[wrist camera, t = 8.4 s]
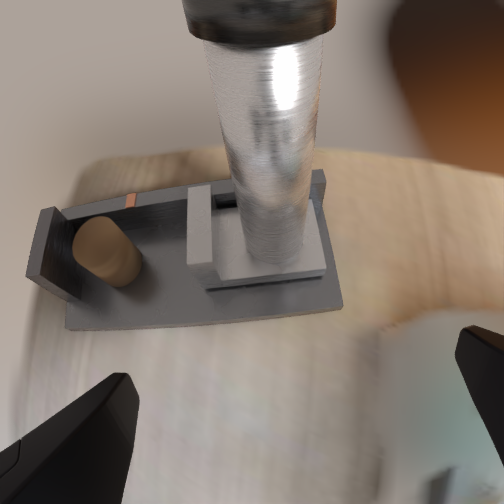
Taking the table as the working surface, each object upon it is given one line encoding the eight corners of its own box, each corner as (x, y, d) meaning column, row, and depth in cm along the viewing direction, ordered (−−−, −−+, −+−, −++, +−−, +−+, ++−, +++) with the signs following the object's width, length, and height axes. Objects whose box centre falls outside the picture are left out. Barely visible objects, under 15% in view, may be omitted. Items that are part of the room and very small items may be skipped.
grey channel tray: (317, 200, 20) (326, 145, 16) (340, 309, 17) (363, 276, 12) (83, 232, 21) (46, 192, 16) (71, 330, 18) (20, 307, 13)
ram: (310, 208, 19) (331, -45, 6) (323, 275, 17) (396, -11, 4) (201, 221, 19) (113, -17, 6) (203, 288, 17) (56, 34, 4)
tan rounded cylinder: (126, 295, 18) (98, 275, 14) (93, 275, 18) (64, 253, 15) (150, 253, 19) (127, 226, 15) (116, 236, 19) (91, 209, 16)
